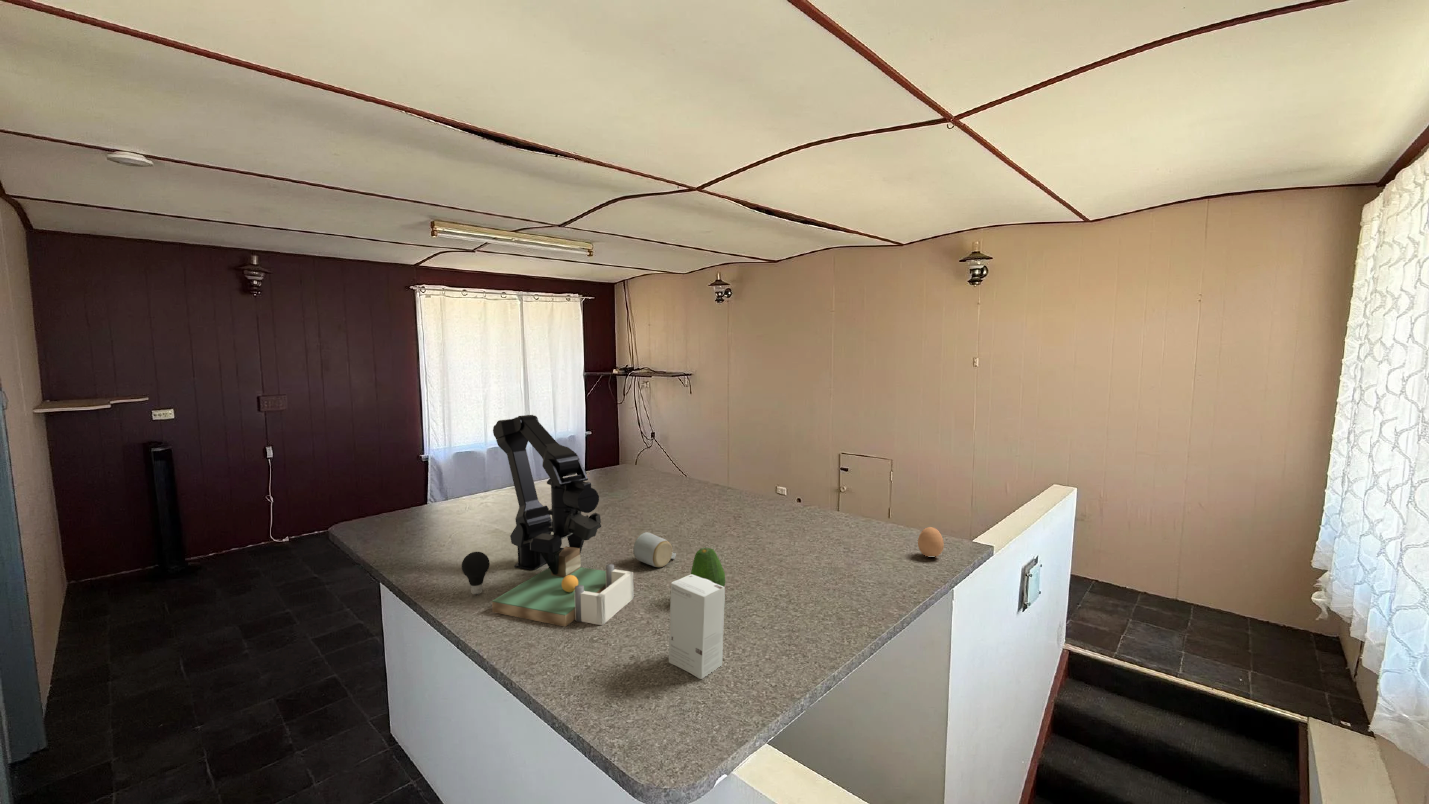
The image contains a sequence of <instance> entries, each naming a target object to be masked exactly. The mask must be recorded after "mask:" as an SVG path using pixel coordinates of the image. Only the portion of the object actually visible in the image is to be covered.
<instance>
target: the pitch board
mask: <svg viewBox="0 0 1429 804" xmlns="http://www.w3.org/2000/svg"><path fill="white" fill-rule="evenodd" d="M570 575H573V576H575V577H576V578H577V579H578V585H583V586H584V591H588V592H594V593H599V594H600V593H601V592H602V591H603V590H605V589H606V570H601V569H594V568H588V567H582V566H580V569H578V570H577V571H575V572H573V573H572V574H570ZM563 579H564V577H559V576H553V575H551V570H550V568H549V567H547V568H546V569H544V570H542V571H540V572H539V573H537V574H535V575H533V576H532V577H531V578H529V579H527V580H525V581H524V582H522V583H519V584H518V585H516V586H515V587H513V588H511V589H509V590H508V591H506V592H505V593H503V594H502V595H500V596H498V597H496V598H495V599H493V600H491V605H492V613H496V614H499V615H501V614H502V615H505V616H511V617H515V618H521V619H525V620H526V619H527V620H531V621H536V622H540V623H541V622H542V623H545V624H551V625H555V626H561V627H567V626H569V625H570V624H571V623H572V622H574V621H576V620H575V593H574V592H575V590H574V591H572V592H566V591H564V590H563V588H562V580H563Z"/></svg>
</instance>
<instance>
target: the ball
mask: <svg viewBox="0 0 1429 804" xmlns="http://www.w3.org/2000/svg"><path fill="white" fill-rule="evenodd" d="M577 585H578V579H577V578H576V577H575V576H573V575H568V576H566V577H564V579H563V580H562V588H563V590H564V591H566V592H572V591H574V590H575V586H577Z"/></svg>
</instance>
